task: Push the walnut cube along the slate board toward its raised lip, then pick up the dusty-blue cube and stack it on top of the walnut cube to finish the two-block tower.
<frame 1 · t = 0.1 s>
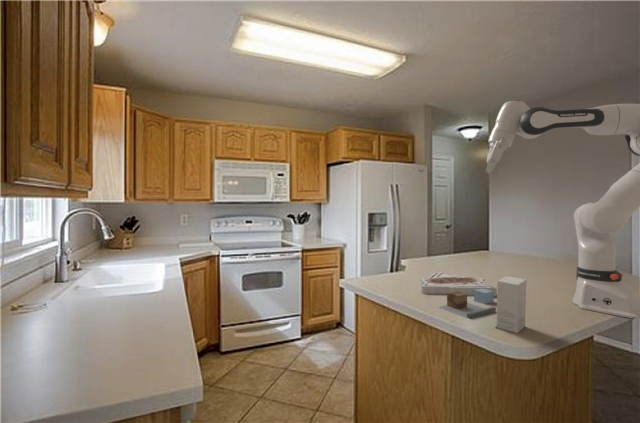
hand: (488, 172, 142), 52 cm above the worktop, tool tilted 20°, fingers open, 8 cm apart
skincare box: (511, 328, 109), on the worktop
blueprint board: (466, 310, 126), on the worktop
walnut block: (457, 306, 129), point 1 cm above the worktop, touching blueprint board
decorative sign: (450, 288, 159), on the worktop
blue block: (483, 303, 135), on the worktop
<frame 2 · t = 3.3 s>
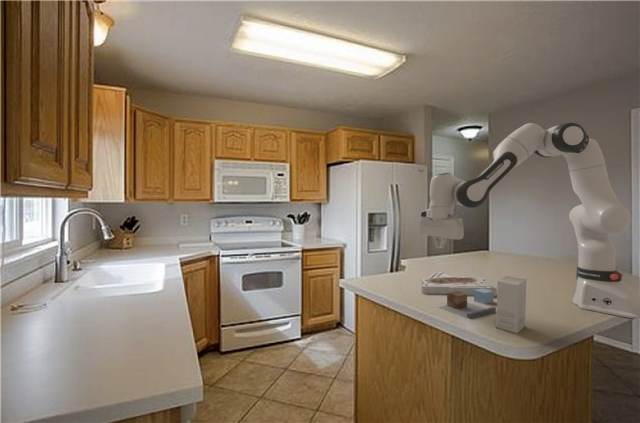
hand: (439, 248, 137), 22 cm above the worktop, tool pointing down, fingers closed
nothing on the worktop moved.
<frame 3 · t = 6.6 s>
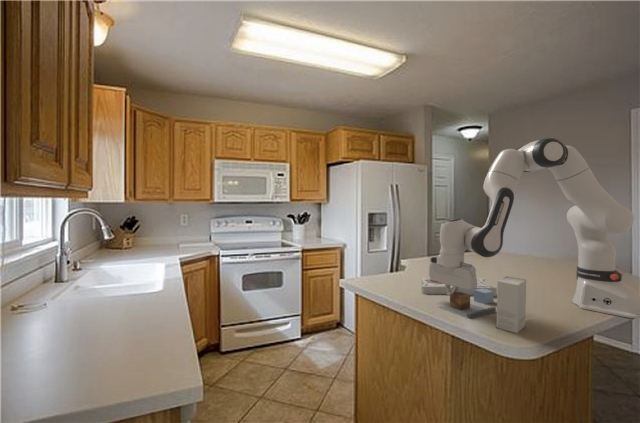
hand: (451, 296, 132), 4 cm above the worktop, tool pointing down, fingers closed
walnut block: (459, 307, 128), point 1 cm above the worktop, touching gripper
everything else where it was.
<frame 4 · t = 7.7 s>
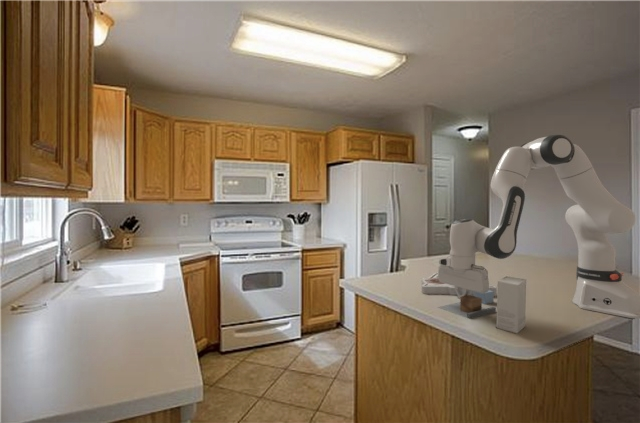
hand: (462, 299, 127), 4 cm above the worktop, tool pointing down, fingers closed
walnut block: (470, 311, 124), point 1 cm above the worktop, touching blueprint board, gripper
everything else where it was.
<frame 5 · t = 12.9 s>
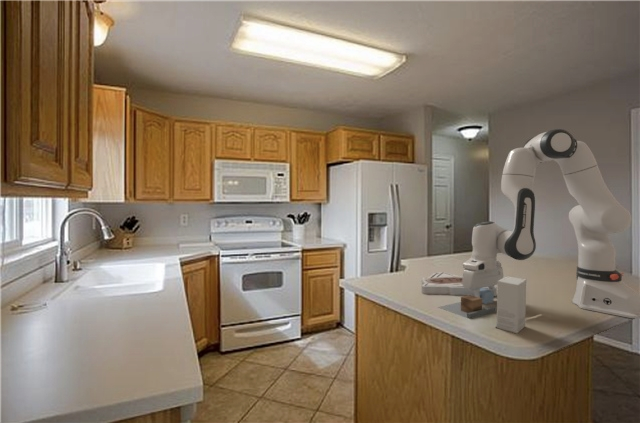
hand: (483, 297, 135), 2 cm above the worktop, tool pointing down, fingers closed on blue block, 5 cm apart
walnut block: (471, 311, 123), point 1 cm above the worktop, touching blueprint board
blue block: (483, 302, 135), on the worktop, touching gripper
everything else where it was.
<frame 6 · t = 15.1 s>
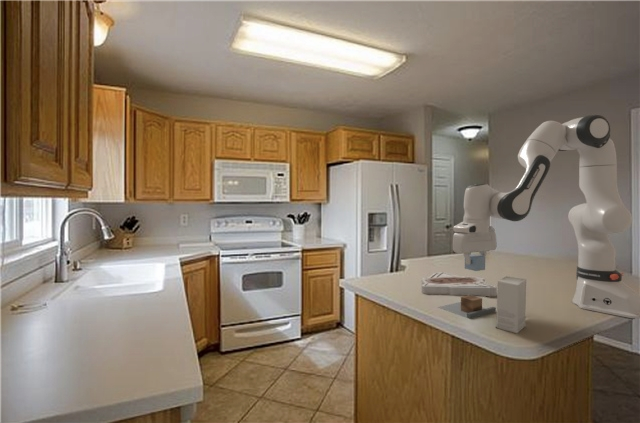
hand: (474, 263, 128), 17 cm above the worktop, tool pointing down, fingers closed on blue block, 5 cm apart
blue block: (474, 269, 128), point 15 cm above the worktop, touching gripper
everything else where it was.
when the fingers open (8 cm above the worktop, at t = 17.4 s): blue block stays where it is, resting on walnut block.
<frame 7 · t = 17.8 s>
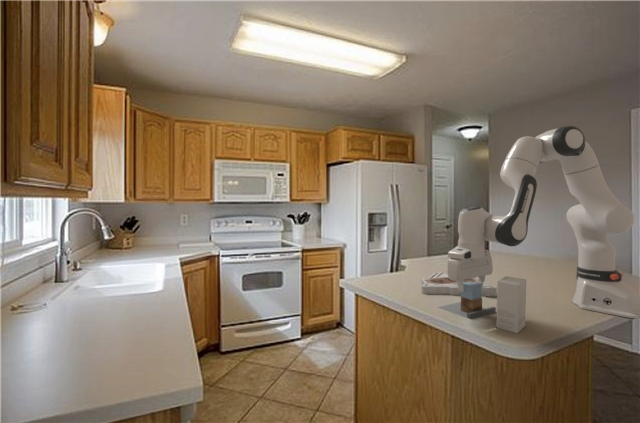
hand: (470, 289, 124), 8 cm above the worktop, tool pointing down, fingers open, 8 cm apart
walnut block: (471, 311, 123), point 1 cm above the worktop, touching blue block, blueprint board
blue block: (470, 297, 124), point 6 cm above the worktop, touching walnut block
everything else where it was.
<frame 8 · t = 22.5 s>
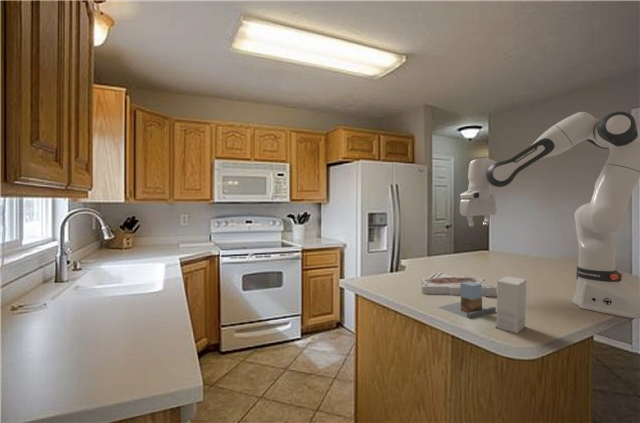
hand: (478, 225, 152), 29 cm above the worktop, tool pointing down, fingers open, 8 cm apart
nothing on the worktop moved.
at the end: walnut block inside the target area (0.2 cm from its centre), point 0.6 cm above the worktop; blue block 0.6 cm off-centre on the walnut block, point 5.0 cm above the walnut block's base; blue block tilted 0° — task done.
